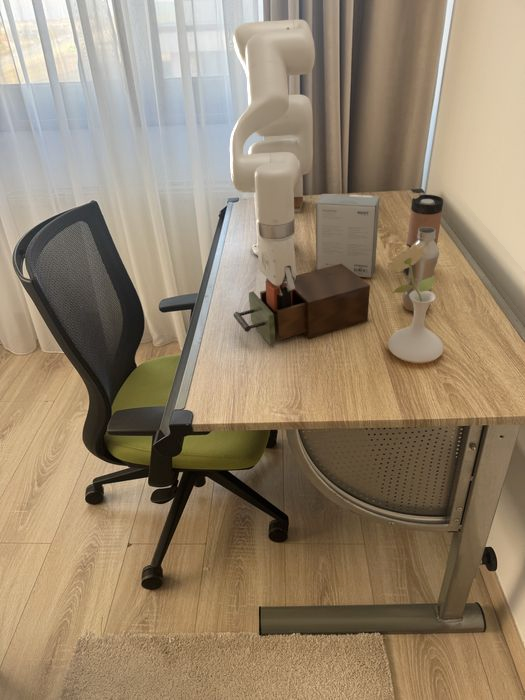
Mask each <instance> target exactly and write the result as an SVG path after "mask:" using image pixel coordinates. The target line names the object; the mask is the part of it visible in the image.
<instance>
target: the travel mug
mask: <svg viewBox="0 0 525 700" xmlns="http://www.w3.org/2000/svg"><path fill="white" fill-rule="evenodd" d="M443 205H444V199H443V197H441V196H438V195H435V194H420V195H419V196H417V197H412V199H411V207H410V214H409V222H408V229H407V237H406V246H409V247H410V248H411V246H412V245H413V244H414V243H415V242H416V241H417V240H418V239H417V235H418V229H419V228H421V227H431V228H434V229H435V230H436V233H435V239H434V242H435V243H436V244H437V245H438V242H439V235H440V229H441V228H440V227H441V220H442V213H443V207H444V206H443ZM404 273H405V274H406V276H409V267H408V268H405V269H404Z"/></svg>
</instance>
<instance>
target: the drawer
mask: <svg viewBox="0 0 525 700" xmlns="http://www.w3.org/2000/svg"><path fill="white" fill-rule="evenodd" d="M248 301H249V304H248V305H249V309H248V310H244V311H240V312H238V311H235V312H234V313H233V318H234V319H235V320H236V321H237V322H238V324H239V325H240V327H241V328H242V329H243V330H244V332H246V333H249V332H250V331H251V330H252V329H255V328H256V330H257V331H258V332H259V333H260V335H262V337H263V338H264V339H265V341H266V342H267V343H268V344H269V345H270V346H273V345H276V338H277V339H278V340H279V341H281V340H283V339H287V338H290V337H293V336H297V335H301V334H303V333H304V332H307V304H306V303H305V302H304V301H303V300H302V299H301V298H300V297H299V296H298V295H297V294H296V293H295V292H294V291H292V306H290V307H287V308H283V309H280V310H277V311H274V310H273V309H272V308H271V307H270V306H269V305H268V303H267V299H266V289H265V290H263V291H259V296H258V295H257V294H256V293H255V291H249V292H248ZM246 315H250V322H251V323H252V324H251V325H249V323H248V322H247V321H246V320H245V319H244V317H243V316H246Z"/></svg>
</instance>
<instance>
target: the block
mask: <svg viewBox="0 0 525 700" xmlns="http://www.w3.org/2000/svg"><path fill="white" fill-rule="evenodd" d="M284 280H285V278H284ZM286 286H287V284H283V285H282V289H283V288H284V287H286ZM265 290H266V299H267V303H268V305H269V306H270V307H271V308H272V309H273V310H274V311H277V310H278V309H277V295H278V287H277V286H275V285H274V284H272V283H271V282H270V281H269V280H268V281H266V280H265ZM291 306H292V294H291Z"/></svg>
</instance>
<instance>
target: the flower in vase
mask: <svg viewBox="0 0 525 700" xmlns="http://www.w3.org/2000/svg"><path fill="white" fill-rule="evenodd" d="M424 246H425V245H423V246H421V247H420V248H419V243H418V244H416V245H412V246H411V248H410V247H409V246H407V245H406V246H405V247H404V248H403V250H399V252H398V253H397V254H394V255H392V257H391V259H392V260H390V261H389V262H388V263H387V264H386V267H387V268H388V269H387V271H389V272H397V273H398V272H400V271H402V272H403V271H405V268H408V267H410V271H411V277H412V284H413V286H412V285H407V284H403V285H400V286H398V287H397V288H395V289H394V290H393V291H392V294H397V293H398V294H399V293H400V294H401V293H403V294H404V292H406V291H408V290H410V289H411V288H412V287H414V288H415V291H412V292H411V293H410V294H409V297H410V299H411V300H412V302H413V305H414V312H413V318H412V323H411V324H410V325H409V326H406V327H403V328H401V329H398V330H397V331H395V332H394V333H392V334H391V336H390V337H389V339H388V340H387V348H388V349H389V351H390V353H391V354H392V355H393V356H395V357H396V358H397V359H399V360H401V361H404V362H407V363H411V364H412V363H413V364H425V363H430V362H433V361H435V360H437V359H438V358H439V357H440V356H442V354H443V352H444V344H443V341H442V339H440V337H439V336H438V335H437V334H435V332H433V331H431V330H430V329H428V328H427V327H426V326H425V321H426V316H427V315H426V314H427V311H428V309H429V308H428V306H429V305H430V306H431V304H432V303H433V302H434V301H435V299H436V295H435V293H434V292H433V291H431V292H430V291H427V290H430V289H431V288H433V287H434V284H435V280H436V276H435V275H433V277H431V278H428V279H425V280H423V281H421V282H420V283H419V287H418V290H417V288H416V287H415V285H414V280H413V273H412V268H411V265H414V264H415V263H416V262H417V261H418V260H420V258H422V257H423V255H422V254H423V253H424V252H425V251H424V250H425V248H424ZM430 303H431V304H430Z"/></svg>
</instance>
